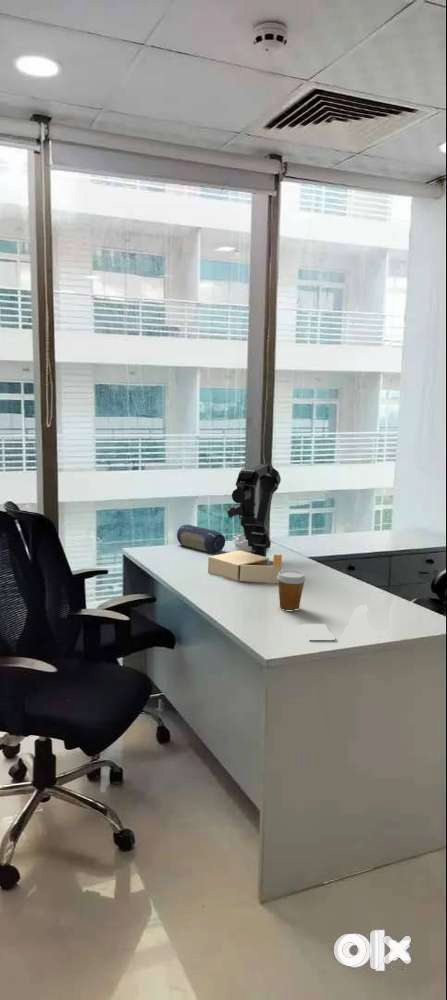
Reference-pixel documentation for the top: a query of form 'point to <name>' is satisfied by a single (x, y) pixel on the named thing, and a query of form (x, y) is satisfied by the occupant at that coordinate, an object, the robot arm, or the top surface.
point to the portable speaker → (200, 538)
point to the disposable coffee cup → (290, 589)
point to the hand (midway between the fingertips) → (246, 537)
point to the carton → (233, 563)
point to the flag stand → (241, 544)
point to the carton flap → (261, 571)
